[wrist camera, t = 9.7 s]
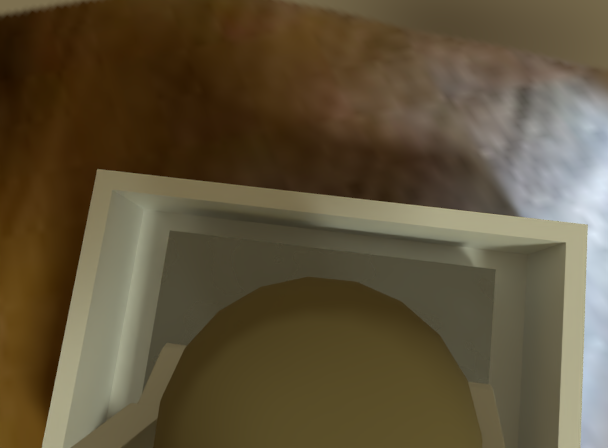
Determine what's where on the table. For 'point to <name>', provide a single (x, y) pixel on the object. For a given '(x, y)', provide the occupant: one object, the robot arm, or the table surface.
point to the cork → (317, 375)
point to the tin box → (321, 264)
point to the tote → (335, 236)
